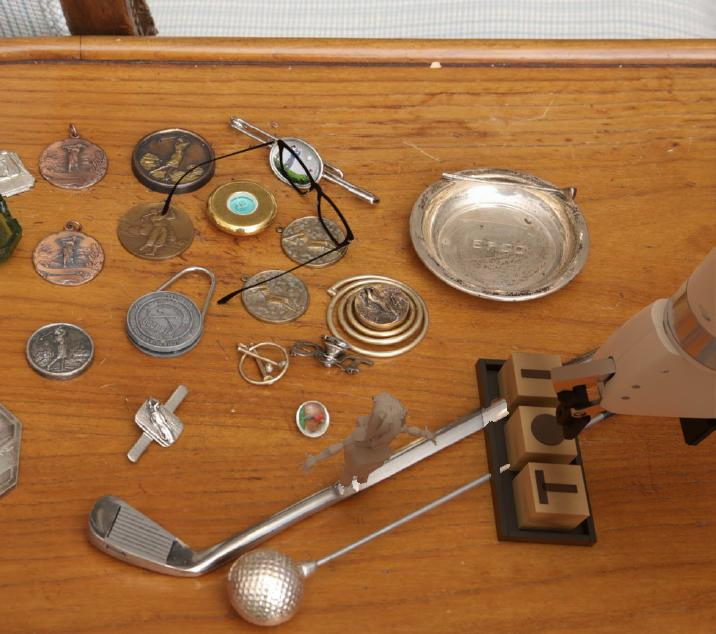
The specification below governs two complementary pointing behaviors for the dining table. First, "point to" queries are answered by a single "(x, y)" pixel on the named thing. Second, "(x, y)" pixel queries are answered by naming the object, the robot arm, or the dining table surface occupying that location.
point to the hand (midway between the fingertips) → (625, 426)
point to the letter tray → (503, 481)
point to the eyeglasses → (314, 185)
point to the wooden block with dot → (536, 438)
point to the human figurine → (370, 440)
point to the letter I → (528, 381)
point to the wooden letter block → (550, 497)
